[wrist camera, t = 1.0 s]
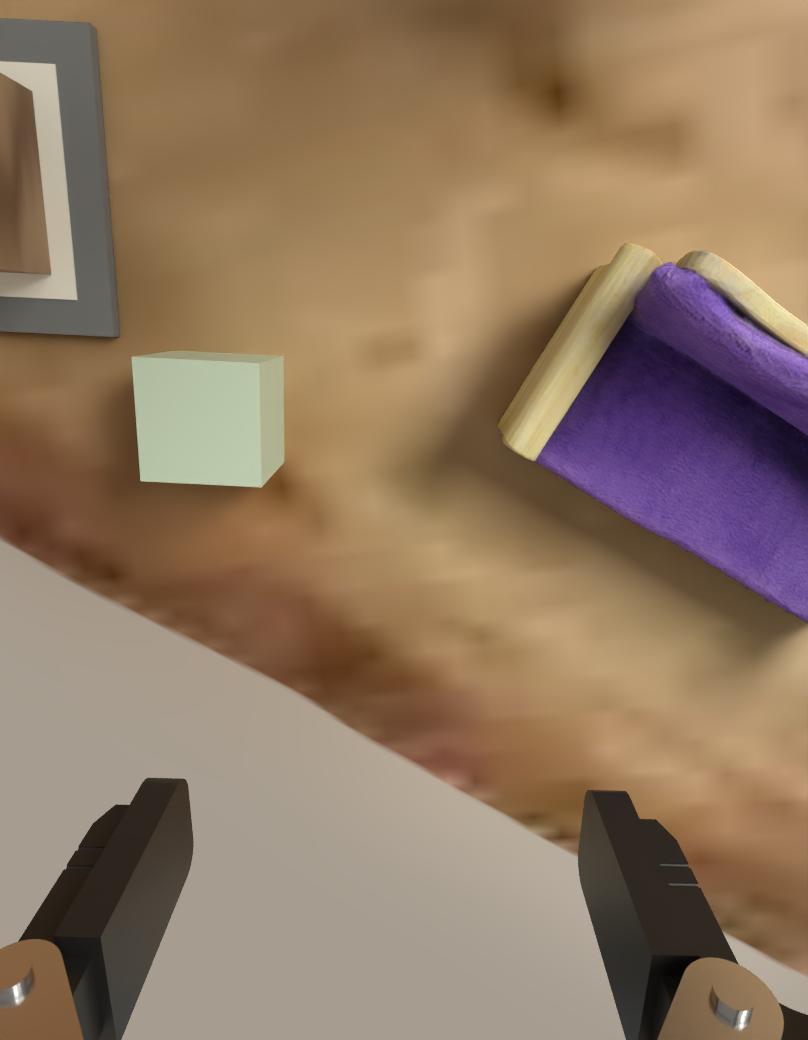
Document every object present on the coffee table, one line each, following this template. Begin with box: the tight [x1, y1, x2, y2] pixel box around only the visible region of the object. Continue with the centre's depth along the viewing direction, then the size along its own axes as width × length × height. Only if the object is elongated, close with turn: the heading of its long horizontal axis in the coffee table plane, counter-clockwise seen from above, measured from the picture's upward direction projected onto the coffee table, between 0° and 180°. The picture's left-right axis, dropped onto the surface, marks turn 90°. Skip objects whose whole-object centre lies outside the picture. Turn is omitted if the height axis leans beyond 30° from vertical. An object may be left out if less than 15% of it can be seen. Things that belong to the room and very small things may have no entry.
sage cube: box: [132, 350, 284, 487], centre depth 29 cm, size 5×5×5 cm
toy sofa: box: [498, 243, 808, 623], centre depth 27 cm, size 21×9×10 cm, turn 60°
